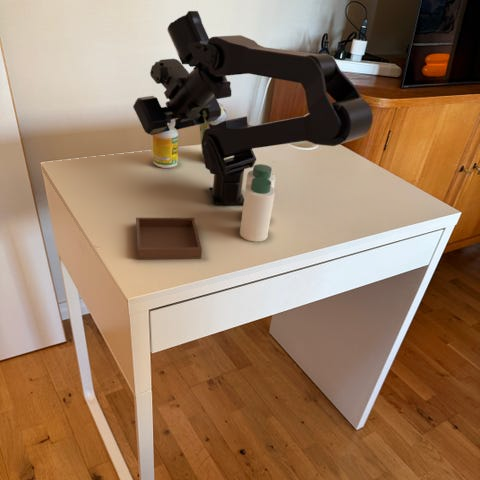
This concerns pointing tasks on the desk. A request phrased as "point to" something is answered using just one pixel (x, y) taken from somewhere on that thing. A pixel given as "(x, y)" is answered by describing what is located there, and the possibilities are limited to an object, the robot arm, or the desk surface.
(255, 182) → the white bottle
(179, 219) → the tray
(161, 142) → the supplement bottle
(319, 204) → the desk surface
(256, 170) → the white bottle
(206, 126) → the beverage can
